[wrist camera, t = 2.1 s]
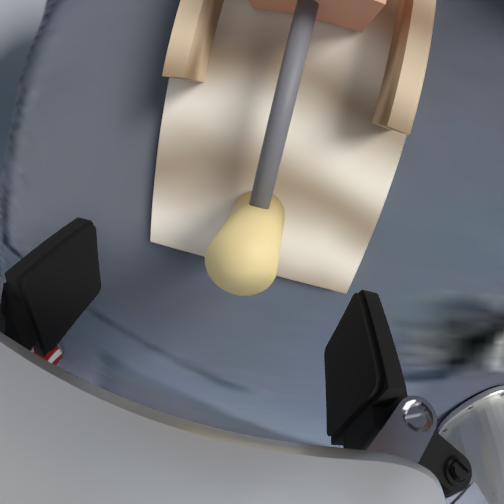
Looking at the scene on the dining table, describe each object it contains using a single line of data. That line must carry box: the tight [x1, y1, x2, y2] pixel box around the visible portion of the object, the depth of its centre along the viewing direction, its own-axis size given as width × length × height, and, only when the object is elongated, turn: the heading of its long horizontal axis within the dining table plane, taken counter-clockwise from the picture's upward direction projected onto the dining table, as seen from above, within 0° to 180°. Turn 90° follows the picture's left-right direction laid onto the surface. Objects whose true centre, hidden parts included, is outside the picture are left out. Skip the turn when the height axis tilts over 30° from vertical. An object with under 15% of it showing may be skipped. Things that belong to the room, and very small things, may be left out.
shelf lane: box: [150, 0, 436, 293], centre depth 13 cm, size 24×14×4 cm, turn 168°
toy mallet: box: [205, 0, 386, 296], centre depth 10 cm, size 20×6×6 cm, turn 168°
